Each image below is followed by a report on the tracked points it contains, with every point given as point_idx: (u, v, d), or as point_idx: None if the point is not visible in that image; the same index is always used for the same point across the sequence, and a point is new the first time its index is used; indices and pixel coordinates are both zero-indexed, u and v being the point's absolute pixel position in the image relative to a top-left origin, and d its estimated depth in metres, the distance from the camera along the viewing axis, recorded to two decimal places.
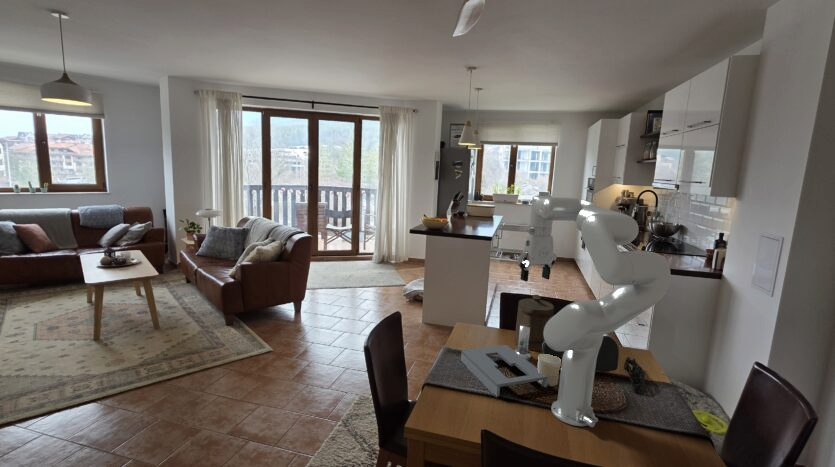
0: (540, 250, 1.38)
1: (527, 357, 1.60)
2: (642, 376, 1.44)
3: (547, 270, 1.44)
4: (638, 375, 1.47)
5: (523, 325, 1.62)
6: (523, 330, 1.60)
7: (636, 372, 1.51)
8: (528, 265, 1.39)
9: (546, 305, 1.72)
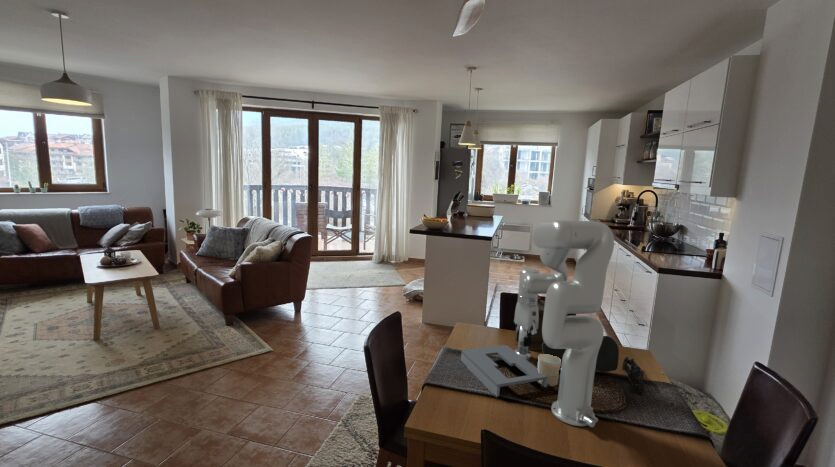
0: None
1: (527, 357, 1.60)
2: (641, 376, 1.44)
3: None
4: (636, 375, 1.47)
5: None
6: (523, 330, 1.60)
7: (634, 372, 1.52)
8: None
9: None
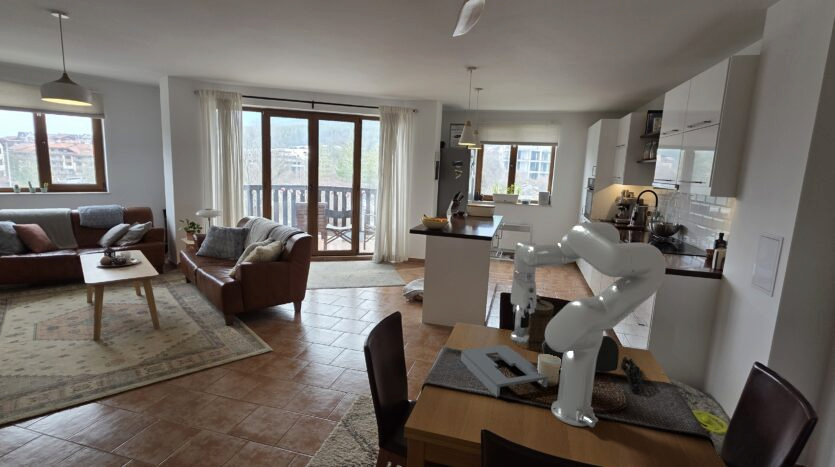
0: None
1: (525, 340, 1.45)
2: (640, 376, 1.44)
3: None
4: (635, 375, 1.47)
5: None
6: (520, 309, 1.45)
7: (633, 372, 1.52)
8: None
9: (546, 305, 1.72)
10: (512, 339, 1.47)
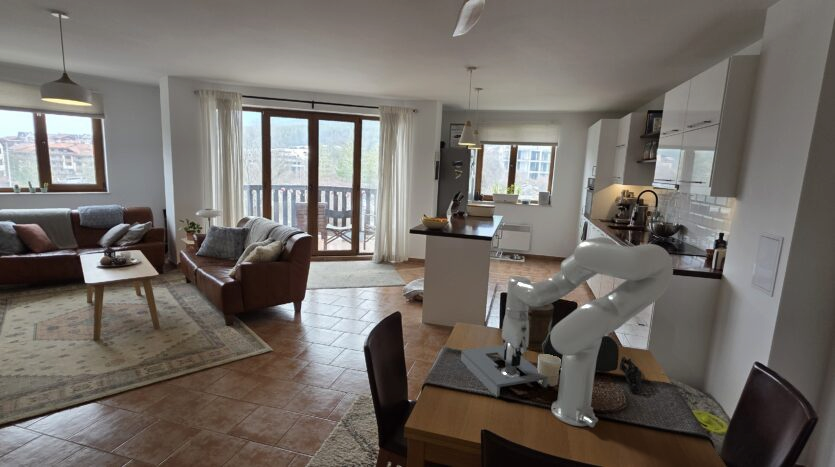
0: None
1: None
2: (638, 376, 1.44)
3: None
4: (634, 375, 1.47)
5: None
6: (512, 347, 1.39)
7: (632, 372, 1.52)
8: None
9: (546, 305, 1.72)
10: None
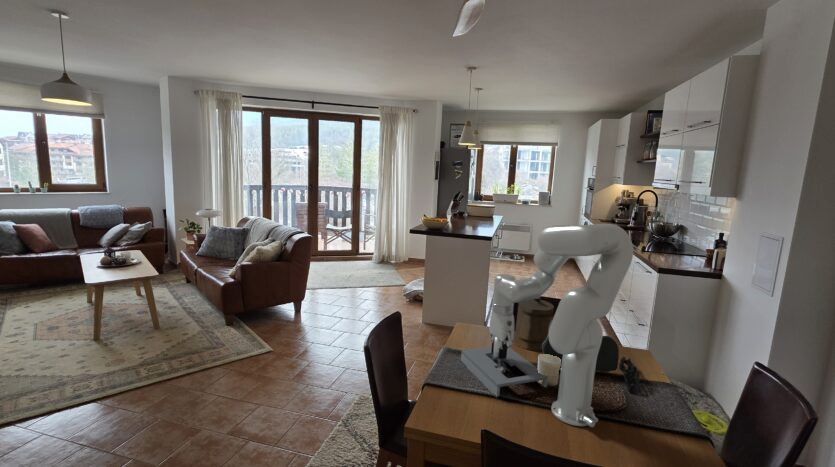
0: None
1: (502, 370, 1.48)
2: (637, 376, 1.44)
3: None
4: None
5: None
6: (498, 340, 1.47)
7: (631, 372, 1.51)
8: None
9: (546, 305, 1.72)
10: None
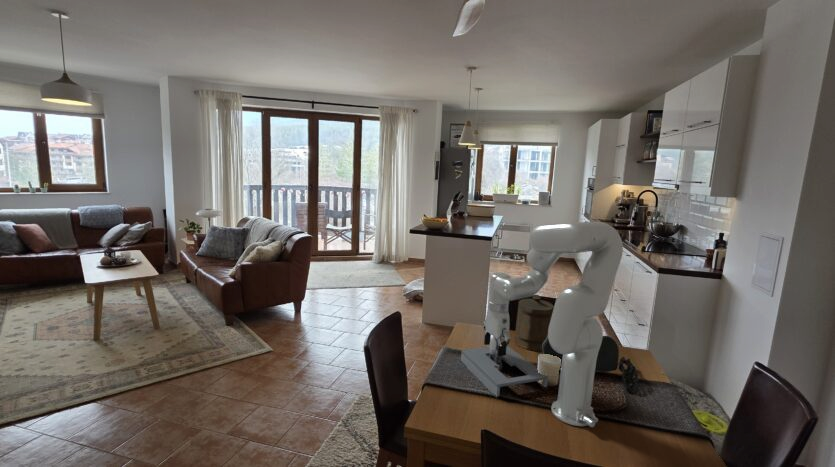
0: None
1: (498, 368, 1.51)
2: (635, 376, 1.44)
3: None
4: (631, 375, 1.47)
5: None
6: (494, 338, 1.50)
7: (630, 372, 1.51)
8: None
9: (546, 305, 1.72)
10: None
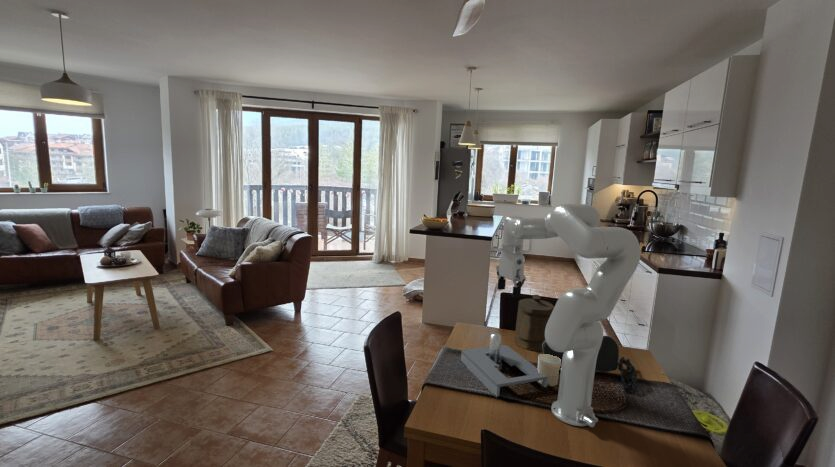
0: None
1: (498, 368, 1.51)
2: (634, 376, 1.44)
3: (504, 281, 1.59)
4: None
5: (494, 333, 1.53)
6: (494, 338, 1.50)
7: (629, 372, 1.51)
8: None
9: (546, 305, 1.72)
10: None
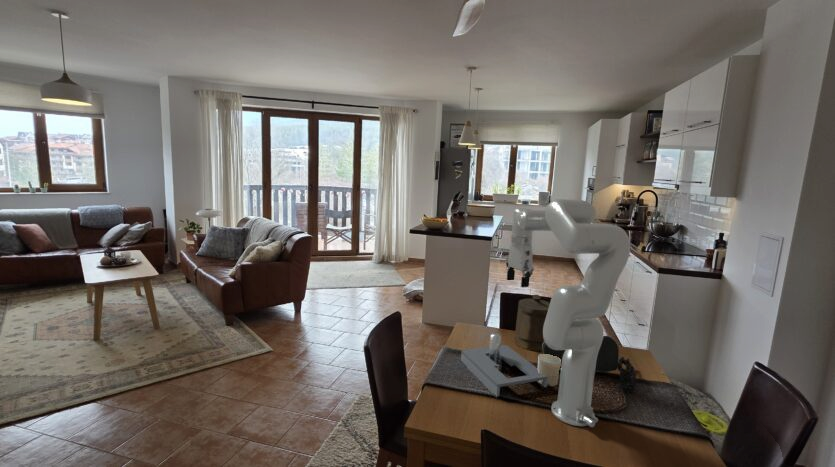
0: None
1: (498, 368, 1.51)
2: (633, 376, 1.44)
3: (513, 272, 1.63)
4: (629, 375, 1.47)
5: (494, 333, 1.52)
6: (494, 338, 1.50)
7: (628, 372, 1.51)
8: None
9: (546, 305, 1.72)
10: None
